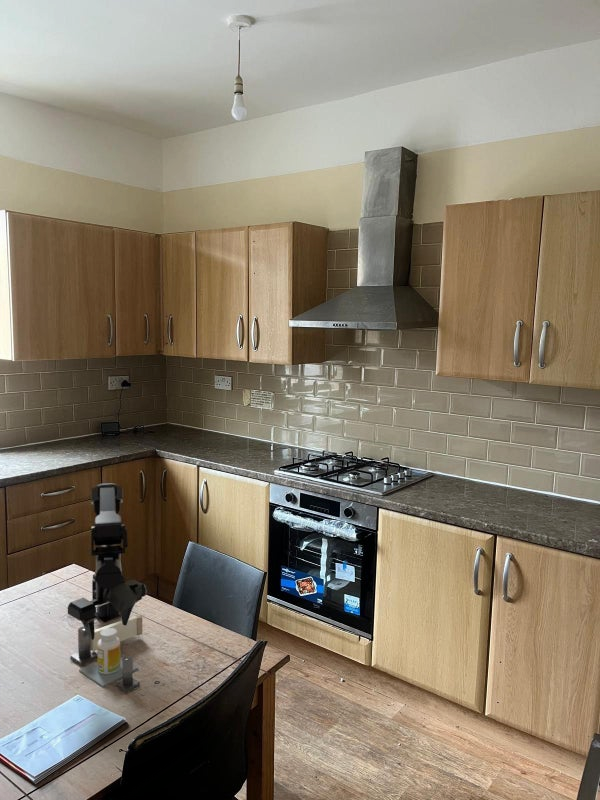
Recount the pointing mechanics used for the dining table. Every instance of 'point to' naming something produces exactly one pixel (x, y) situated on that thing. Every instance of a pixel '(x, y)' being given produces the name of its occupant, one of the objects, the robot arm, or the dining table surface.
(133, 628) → the gate
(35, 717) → the dining table surface
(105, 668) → the supplement bottle
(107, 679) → the doorway mat
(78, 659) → the gate posts
